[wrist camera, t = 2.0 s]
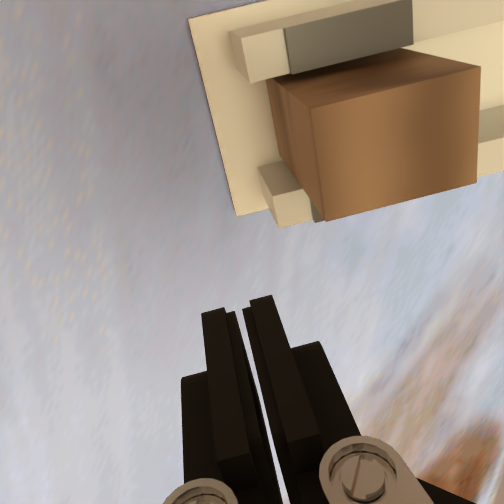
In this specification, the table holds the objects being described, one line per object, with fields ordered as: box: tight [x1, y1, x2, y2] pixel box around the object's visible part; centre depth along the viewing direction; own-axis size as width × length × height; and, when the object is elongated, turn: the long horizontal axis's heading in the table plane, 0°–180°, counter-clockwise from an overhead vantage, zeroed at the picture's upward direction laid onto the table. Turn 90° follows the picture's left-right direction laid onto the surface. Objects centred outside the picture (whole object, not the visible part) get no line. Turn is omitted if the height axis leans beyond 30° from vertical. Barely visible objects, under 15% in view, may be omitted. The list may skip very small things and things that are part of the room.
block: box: [266, 48, 481, 222], centre depth 24 cm, size 7×5×10 cm
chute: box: [188, 0, 504, 228], centre depth 27 cm, size 26×12×6 cm, turn 102°
